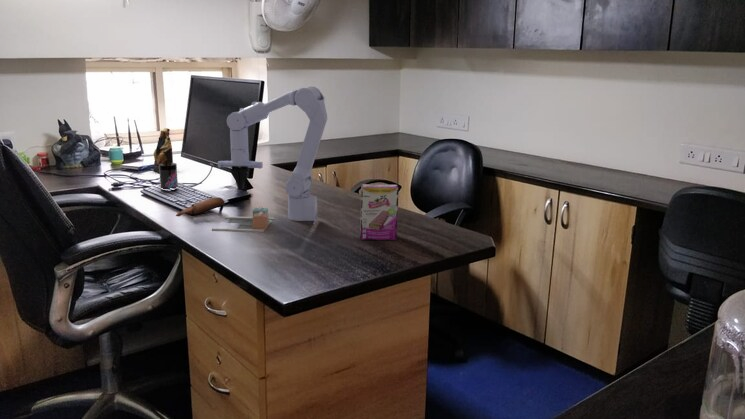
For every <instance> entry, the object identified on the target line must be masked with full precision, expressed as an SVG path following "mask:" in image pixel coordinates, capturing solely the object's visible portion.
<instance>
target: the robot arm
mask: <svg viewBox="0 0 745 419" xmlns="http://www.w3.org/2000/svg"><path fill="white" fill-rule="evenodd" d="M325 104H326V103H325V96H324V94H323V93H322V92H321V90H320V89H319V88H317V87H316V86H309V87H302V88H299V89H295V90H292V91H288V92H286V93H284V94H282V95H280V96H278V97H275V98H273V99H272V100H270V101H268V102H265V103H264V102H262V101H258V102H257V101H253V102H251V104H250V105H248V106H246V107H241V108H239V111H234V112H231V113H230V114H229V115H228V116H227V118H226V125H227V127H228V128H229V140H230V141H229V142H230V156H231V157H230V159H231V160H219V161H217V168H231V169H230V171H231V174H232V175H233V178H234V179H235V180H234V181H235V182H236V185H237V188H238V189H237V190H238V191H239V190H245V183H246V179H247V177H248V174H249V171H250V169H263V168H264V167H263V161H254V160H250V154H249V153H250V152H249V127H250V126H252V125H255V124H256V123H259V122H261V121H263V120H265V119H268V117H269V115H270V113H272V112H274V111H277V110H279V109H282V108H284V107H286V106H289V105H290V106H298V107H299V109H300V110H302V111H303V112H304V113H305V114H306V116H307V117H308V119H309V123H308V127H307V130H306V133H305V137H304V140H303V142H302V146H301V150H300V152H299V156H298V159H297V163H296V166H295V168H294V170H293V171H292V172H291V175H290V177H289V179H288V180H287V181H286V183H285V186H284V187H285V191H286V193H287V207H288V208H287V211H288V213H287V214H288V220H291V221H295V222H296V221H297V222H300V221H301V222H303V221H304V222H305V221H307V222H311V221H312V222H313V223H312V225H315V224H316V222H317V220H318V198H317V196H316V195H311V193H310V189H311V188H312V186H313V181H312V177H313V165H314V163H315V160H316V157H317V153H318V149H319V148H320V147H319V146H320V145H321V140H322V137H323V133H324V131H325V127H326V125H327V121H328V113H327V109H326V105H325Z"/></svg>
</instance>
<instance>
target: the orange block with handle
mask: <svg viewBox="0 0 745 419" xmlns="http://www.w3.org/2000/svg"><path fill="white" fill-rule="evenodd" d="M252 217H253V219H252V221H253V222H252V228H253V229H261V230H262V229H265V230H267V229H268V227H269V226H270V224H269V218H270V217H269V212H268V213H263V212H260V213H255V214H254V215H253V214H252Z"/></svg>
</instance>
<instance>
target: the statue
mask: <svg viewBox="0 0 745 419" xmlns="http://www.w3.org/2000/svg"><path fill="white" fill-rule="evenodd" d="M170 131H171V130H170V128H168V127H167V128H166V127H164V128H163V129H161V130H160V133H159V137H158V141H157V144H156V148H155V149H154V152H153V160H154V164H153V165H152V170H153V171H154V172H155V173H157V174H160V171H159V164H162V163H174V159H173V157H174V156H173V147H172V141H171V137H170Z"/></svg>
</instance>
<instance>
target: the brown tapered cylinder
mask: <svg viewBox="0 0 745 419" xmlns="http://www.w3.org/2000/svg"><path fill="white" fill-rule="evenodd" d="M225 205H226V202H225V200H224V199H223V198H222V197H211V198H207V199H204V200H201V201H199V202H195V203H193V204H191V206H189V207H186V208H185V209H183V210H181V211H180V212H178V213H177V214H176V215H175V217H181V216H182V215H184V214H186V215H187V214H188V215H194V216H195V215H198V214H201V213H204V212H206V211H210V210H211V209H214V208H217V207H219V206H225Z"/></svg>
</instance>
